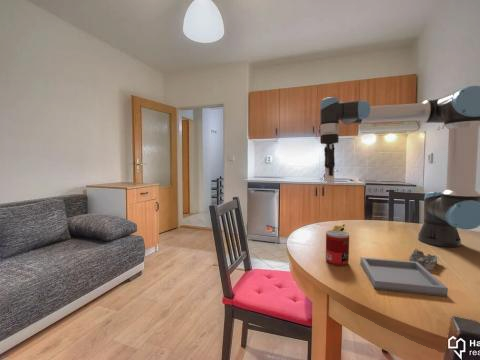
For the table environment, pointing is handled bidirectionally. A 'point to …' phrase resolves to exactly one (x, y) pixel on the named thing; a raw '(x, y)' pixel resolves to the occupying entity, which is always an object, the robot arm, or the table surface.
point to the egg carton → (424, 259)
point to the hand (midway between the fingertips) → (329, 182)
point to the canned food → (337, 247)
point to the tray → (402, 277)
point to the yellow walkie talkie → (339, 227)
